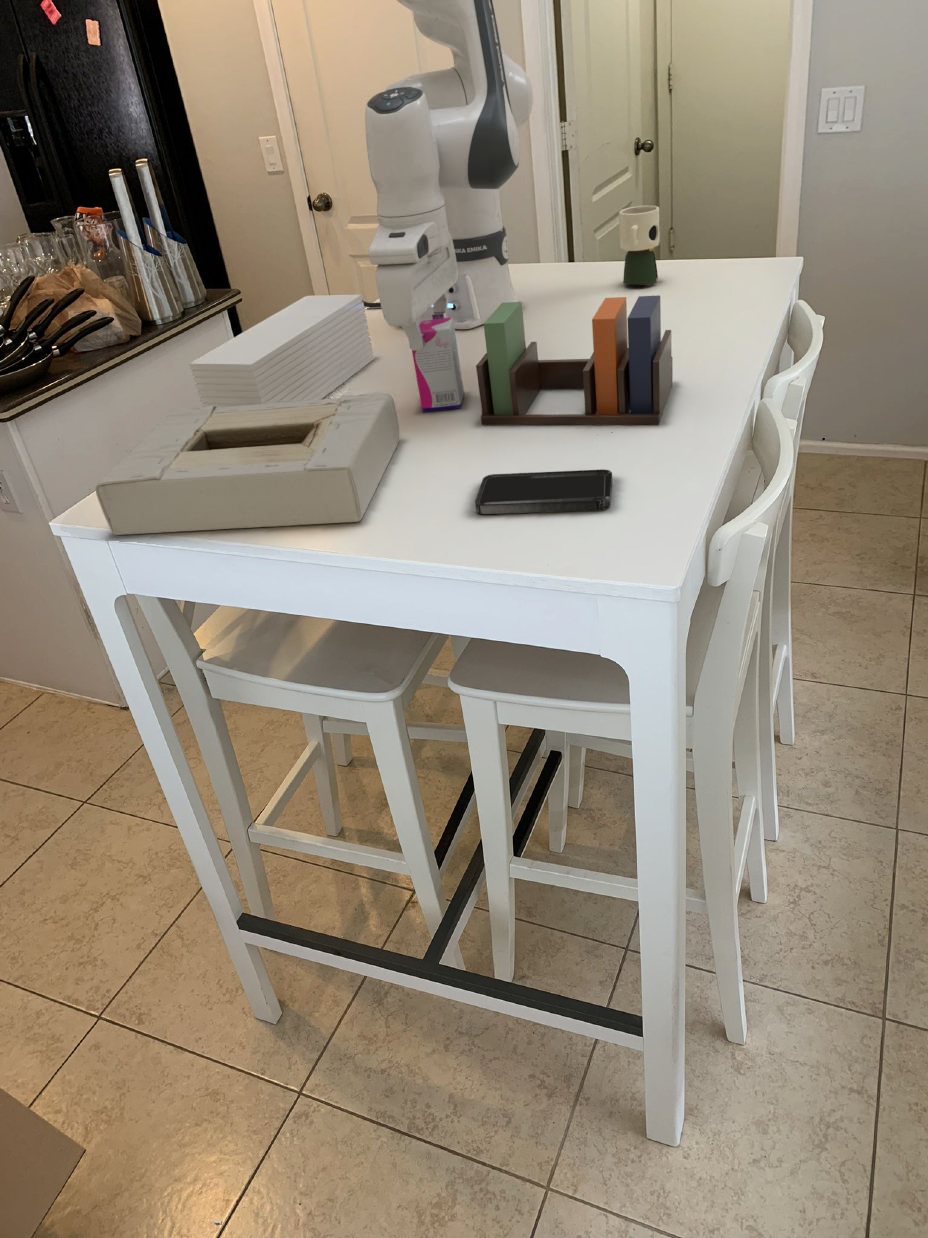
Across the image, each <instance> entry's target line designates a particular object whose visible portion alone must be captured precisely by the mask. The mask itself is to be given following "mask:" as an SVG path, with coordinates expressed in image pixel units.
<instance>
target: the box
mask: <svg viewBox="0 0 928 1238" xmlns="http://www.w3.org/2000/svg"><path fill="white" fill-rule="evenodd" d="M397 412H398V411H397V407H396V403H395V400H394V397H393V396H392V394H390V393H388V392H370V393H362V394H343V395H341V397H333V398H322V399H320V400H307V401H294V402H282V403H268V404H256V405H244V406H231V407H216V406H206V407H202V406H189V407H180V408H179V407H178V408H174V409H170V411H168V413H167V414H166V415H165V417H164V418H163V419H162V420H161V421H160V422H159V423H158V424H157V425H156V426H155V427H154V428H153V429H152V430H151V431H149V433H148V434H147V435H146V436H145V437H143V439H142V440H141V441H140V442H139V443H137V445H136V446H135V447H134V448H133V449H132V450H130V452H129V453H127V455H126V456H124V458H123V459H121V461H119V462H118V463H117V464H116V465H115V466H114V467H113V468H112V469H111V470H110V471H109V472H108V473H106V474H105V476H103V477H102V478H101V479H99V481H98V482H97V483H96V484H95V494H96V497H97V500H98V504H99V506H100V508H101V511H102V514H103V516H104V519H105V520H106V523H107V524H108V527H109V529H110V531H111V533H113V534H114V535H116V536H120V535H138V534H158V533H177V532H193V531H211V530H213V531H215V530H231V529H249V528H250V529H251V528H265V527H268V528H269V527H288V526H304V525H305V526H307V525H323V524H338V523H339V524H341V523H356V522H357V523H358V522H360V521H362V520H363V517H364V515H365V513H366V511H367V509H368V507H369V505H370V503H371V501H372V498H373V497H374V495H375V493H376V490H377V488H378V486H379V484H380V482H381V480H382V478H383V476H384V474H385V472H386V470H387V468H388V466H389V464H390V462H391V459H392V457H393V455H394V454H395V451H396V449H397V447H398V445H399V443H400V437H401V435H400V433H401V431H400V424H399V419H398V413H397Z"/></svg>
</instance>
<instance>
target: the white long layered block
mask: <svg viewBox="0 0 928 1238" xmlns="http://www.w3.org/2000/svg"><path fill="white" fill-rule="evenodd" d="M362 300H363V301H364V299H363V294H323V295H316V294H315V295H305V296H303V297H302V298H300V299H298V300H297V301H294V302H293V303H291V304H289V305H288V306H286V307H284V308H283V309H281V310H279V311H278V312H276V313H274V314H272V315H270V316H268V317H267V318H265V319H263V320H262V321H260V322H258V323H256V324H255V325H253V326H251V327H250V328H248V329H246V330H244V331H243V332H241V333H239V334H238V335H236V336H234V337H233V338H231V339H228V341H225V342H224V343H222V344H220V345H219V346H217V347H215V348H213V349H211V350H210V351H209V352H207V353H204V354H203V355H201V356H200V357H198V358H196V359H194V360H192V361H191V362H189V364H188V365H189V368H190V370H191V374H192V377H193V381H194V383H195V387H196V390H197V394H198V396H199V401H200V403H201V407H206V406H216V407H231V406H244V405H256V404H268V403H282V402H294V401H307V400H320V399H324V398H325V397H326V396H328V395H329V394H330V393H332V392H333V391H334V390H335V389H337V388H338V387H339V386H341V385H342V384H343V383H345V382H346V381H348V380H349V379H351V377H352V376H354V375H355V374H357V373H358V372H359V371H360V370H362V369H363V368H365V367H366V366H367V365H368V364H370V363H371V362H372V361H374V360H375V356H374V354H373V353H374V351H373V348H372V342H371V337H370V331H369V324H368V320H367V315H366V314H367V313H366V308H365V306H364V303H363V301H362Z"/></svg>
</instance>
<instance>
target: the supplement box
mask: <svg viewBox="0 0 928 1238" xmlns="http://www.w3.org/2000/svg"><path fill="white" fill-rule="evenodd" d="M419 328H420V331H421V334H424V337H425V346H424V347H423V348H422V349H421V350H411V354H412V360H413V366H414V370H415V376H416V383H417V389H418V395H419V401H420V406H421V411H422V413H429V412H430V413H431V412H437V411H438V412H439V411H446V410H447V411H448V410H459V409H462V406H463V401H464V397H465V389H464V382H463V378H462V377H463V376H462V369H461V363H460V356H459V348H458V342H457V341H458V340H457V335H456V329H455V327H454V321H453V317H451V318H443V319H435V320H427V321H420V325H419Z"/></svg>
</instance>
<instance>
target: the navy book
mask: <svg viewBox="0 0 928 1238" xmlns="http://www.w3.org/2000/svg"><path fill="white" fill-rule="evenodd" d="M661 310H662V309H661V295H660V294H659V295H640V296H638V297H637V299H636V301H635V303H634V305H633V307H632V309H631V311H630V312H629V315H627V337H628V351H629V384H630V412H629V414H654V412H653V360H654V357H655V355H656V353H657V350H658V348H659V345H660V343H661V340H662V332H661V331H662V329H661V328H662V326H661V325H662V324H661V322H662V319H661V317H662V316H661V315H662V313H661V312H662V311H661Z"/></svg>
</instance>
